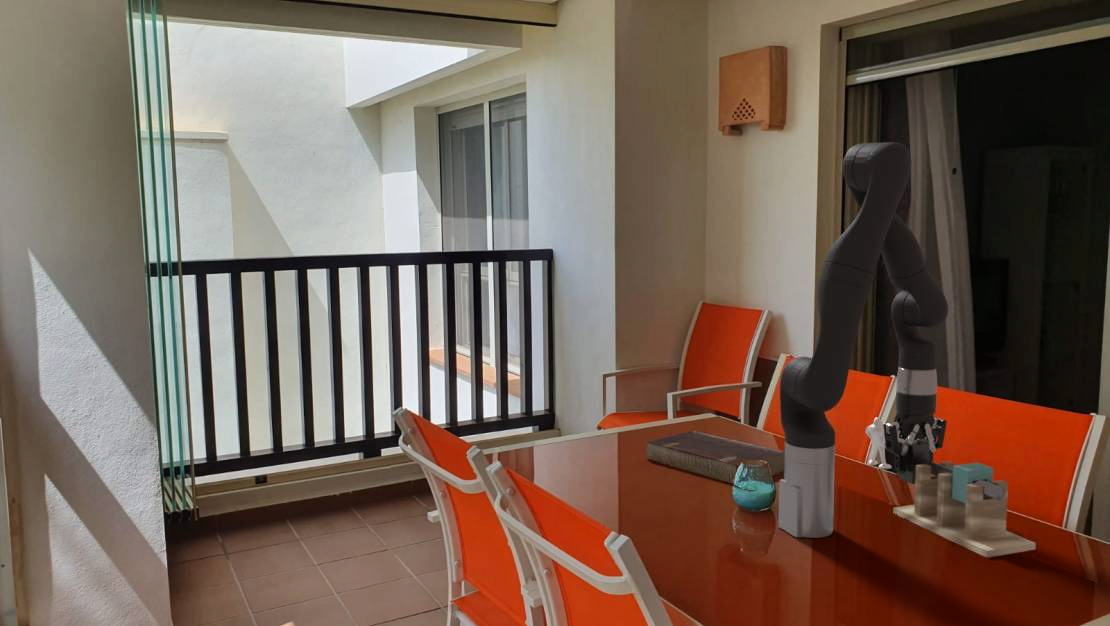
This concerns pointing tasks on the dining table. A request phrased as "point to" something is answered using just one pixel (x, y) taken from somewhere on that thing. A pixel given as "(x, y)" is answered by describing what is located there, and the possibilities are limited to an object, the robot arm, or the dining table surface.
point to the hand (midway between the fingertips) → (913, 470)
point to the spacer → (969, 478)
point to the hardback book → (711, 454)
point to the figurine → (877, 442)
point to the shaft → (938, 469)
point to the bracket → (963, 514)
